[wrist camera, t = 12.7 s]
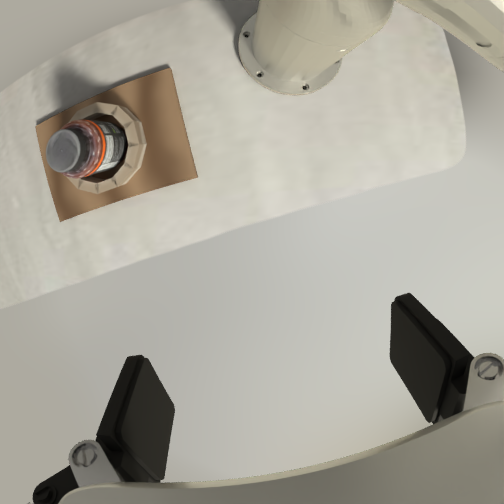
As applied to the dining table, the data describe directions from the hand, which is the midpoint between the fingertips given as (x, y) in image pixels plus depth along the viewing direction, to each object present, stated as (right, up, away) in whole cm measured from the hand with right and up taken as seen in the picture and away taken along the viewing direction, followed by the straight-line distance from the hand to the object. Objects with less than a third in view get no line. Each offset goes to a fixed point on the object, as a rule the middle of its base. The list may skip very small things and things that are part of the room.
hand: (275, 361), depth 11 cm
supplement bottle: (-18, +17, +22) cm, 33 cm away
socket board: (-19, +17, +23) cm, 34 cm away
